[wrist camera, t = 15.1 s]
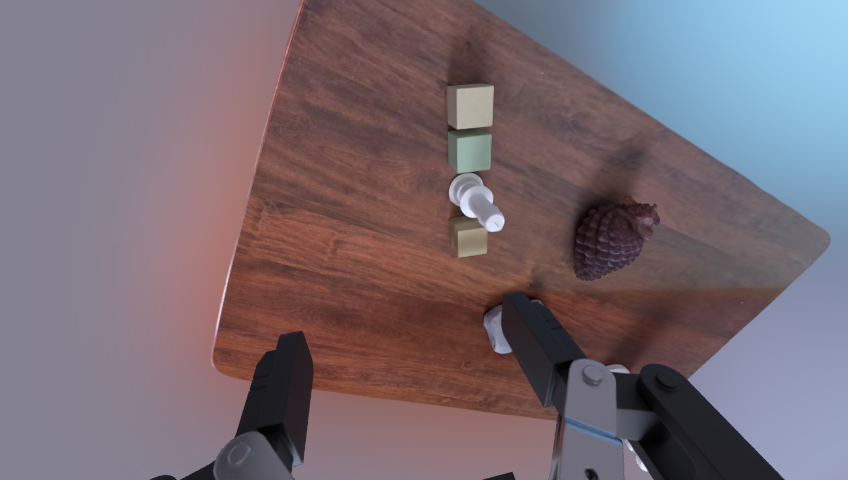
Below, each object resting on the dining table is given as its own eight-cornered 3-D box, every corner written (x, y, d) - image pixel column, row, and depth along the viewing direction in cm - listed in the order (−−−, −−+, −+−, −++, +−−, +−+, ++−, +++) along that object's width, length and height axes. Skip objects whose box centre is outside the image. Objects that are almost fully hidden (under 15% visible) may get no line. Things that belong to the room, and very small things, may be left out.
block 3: (449, 218, 50) (457, 231, 46) (477, 214, 51) (487, 226, 47) (450, 243, 52) (458, 257, 48) (476, 239, 53) (486, 253, 49)
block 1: (446, 86, 41) (456, 88, 37) (480, 83, 41) (494, 85, 38) (447, 123, 43) (456, 129, 39) (479, 120, 44) (492, 126, 40)
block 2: (447, 131, 44) (457, 138, 40) (479, 127, 44) (491, 134, 40) (448, 164, 46) (457, 173, 42) (478, 160, 46) (490, 169, 43)
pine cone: (600, 271, 62) (603, 308, 55) (552, 248, 63) (547, 281, 56) (671, 197, 51) (686, 231, 43) (610, 171, 52) (614, 199, 44)
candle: (489, 190, 49) (526, 225, 39) (462, 213, 50) (491, 253, 40) (469, 164, 46) (503, 194, 36) (441, 189, 47) (466, 225, 37)
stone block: (476, 306, 62) (490, 346, 66) (485, 319, 58) (499, 362, 61) (532, 283, 63) (543, 324, 66) (545, 294, 59) (556, 338, 62)
